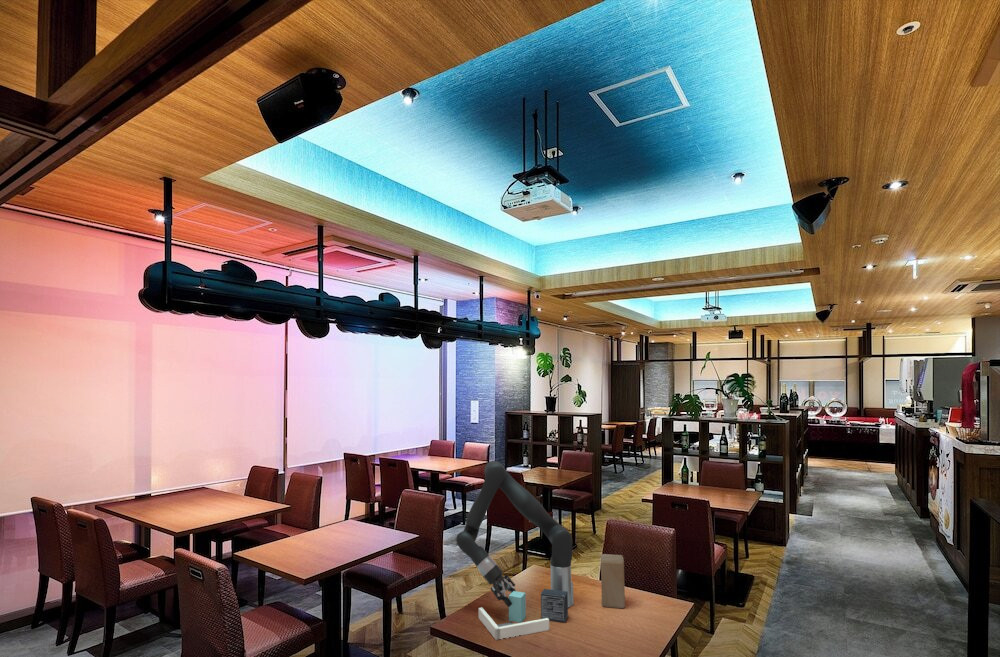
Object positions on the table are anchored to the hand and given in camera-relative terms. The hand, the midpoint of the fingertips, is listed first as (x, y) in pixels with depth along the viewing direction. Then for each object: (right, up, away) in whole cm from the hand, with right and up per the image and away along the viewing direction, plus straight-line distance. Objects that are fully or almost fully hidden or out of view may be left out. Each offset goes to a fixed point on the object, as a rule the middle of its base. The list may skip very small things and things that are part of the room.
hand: (514, 601), depth 223 cm
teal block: (+1, -7, -1) cm, 7 cm away
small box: (+17, -7, 0) cm, 18 cm away
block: (+45, -8, +14) cm, 47 cm away
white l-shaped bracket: (-1, -6, -6) cm, 8 cm away
